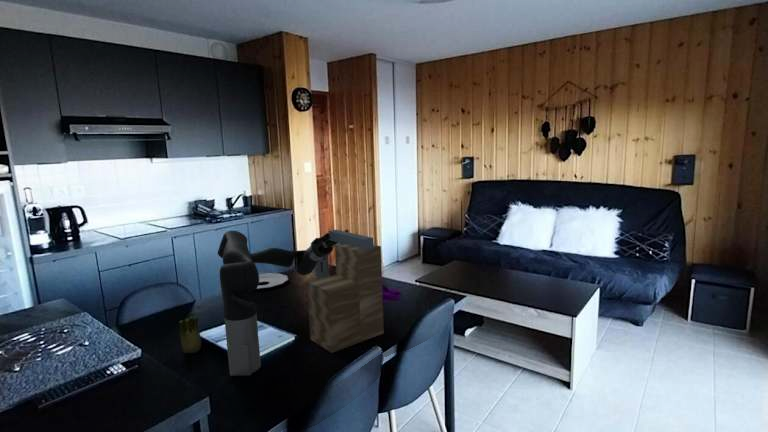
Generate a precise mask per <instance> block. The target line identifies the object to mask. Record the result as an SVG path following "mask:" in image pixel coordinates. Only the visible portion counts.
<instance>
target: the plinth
mask: <svg viewBox="0 0 768 432" xmlns="http://www.w3.org/2000/svg"><path fill="white" fill-rule="evenodd" d="M334 255H335V257H334V260H335V274H333V275H330V276H328V277H324V278H320V279H317V278H315V279H313V280H312V279H311V280H308V281H306V289H307V290H306V291H307V292H306V293H307V304H308V305H307V307H308V320H309V321H308V323H309V324H308V325H309V337H310V340H311V341H312V342H314V343H316V344H317V345H318V346H320V347H322V348H324V350H327V351H328V352H329V353H332V354H333V353H336V352H338V351H340V350H344V349H345V348H348V347H350V346H354V345H357V344H358V343H363V342H365V341H366V340H369V339H373V338H375V337H378V336H380V335H381V336H382V335H383V334H384V332H385V331H384V330H385V329H384V326H385V325H384V302H383V300H384V299H383V294H382V284H383V272H382V271H383V270H382V268H383V267H382V246H381V245H377V244H374V243H373V248H371V249H366V250H365V249H361V248H357V247H354V246H350V245H346V244H340V243H339V244H337V245H335V246H334Z"/></svg>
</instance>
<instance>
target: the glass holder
mask: <svg viewBox="0 0 768 432" xmlns="http://www.w3.org/2000/svg"><path fill="white" fill-rule="evenodd" d="M331 264H332V256H331V253H330V254H328V255H327V256H326V257H325V258H323V259H321V260H320V261H319V262H317V264H316V266H315V268H314V270H313V276H312V277H313V279H320V278H324V277H328V276H331V274H330V273H329V270H330V268H331Z"/></svg>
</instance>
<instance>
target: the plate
mask: <svg viewBox="0 0 768 432" xmlns="http://www.w3.org/2000/svg"><path fill="white" fill-rule="evenodd" d="M258 274H259V283H263V282H267V283H268V284H263V285H259V284H258V287H257V289H256V290H257V291H261V290H268V289H272V288H276V287H278V286H281V285H283V284H285V283H286V282H288V281H289V278H288V277H289V276H288V275H286V274H283V273H258ZM256 290H255V291H256Z"/></svg>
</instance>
